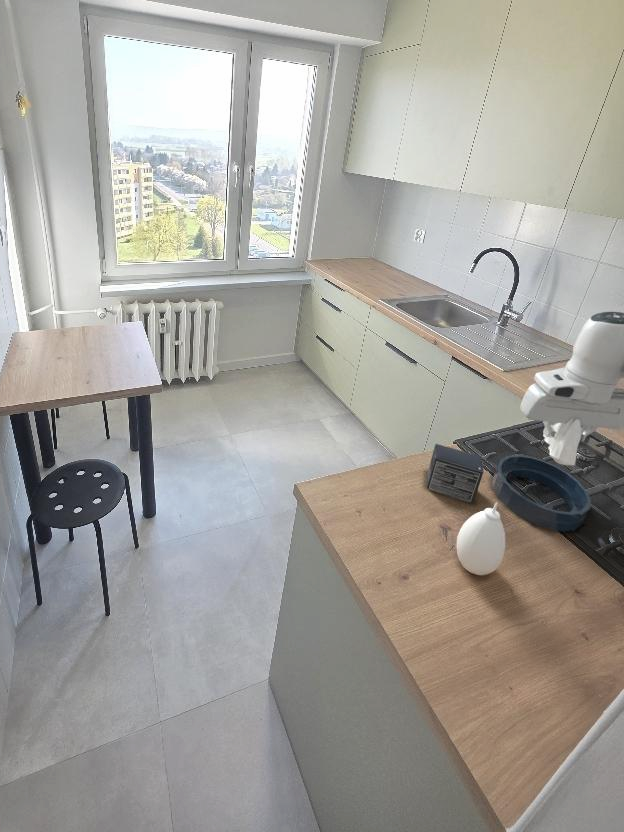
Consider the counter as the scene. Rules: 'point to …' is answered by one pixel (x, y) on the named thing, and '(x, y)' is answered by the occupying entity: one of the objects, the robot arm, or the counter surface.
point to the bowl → (550, 477)
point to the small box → (455, 473)
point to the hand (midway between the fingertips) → (562, 437)
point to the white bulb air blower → (481, 542)
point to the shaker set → (565, 442)
